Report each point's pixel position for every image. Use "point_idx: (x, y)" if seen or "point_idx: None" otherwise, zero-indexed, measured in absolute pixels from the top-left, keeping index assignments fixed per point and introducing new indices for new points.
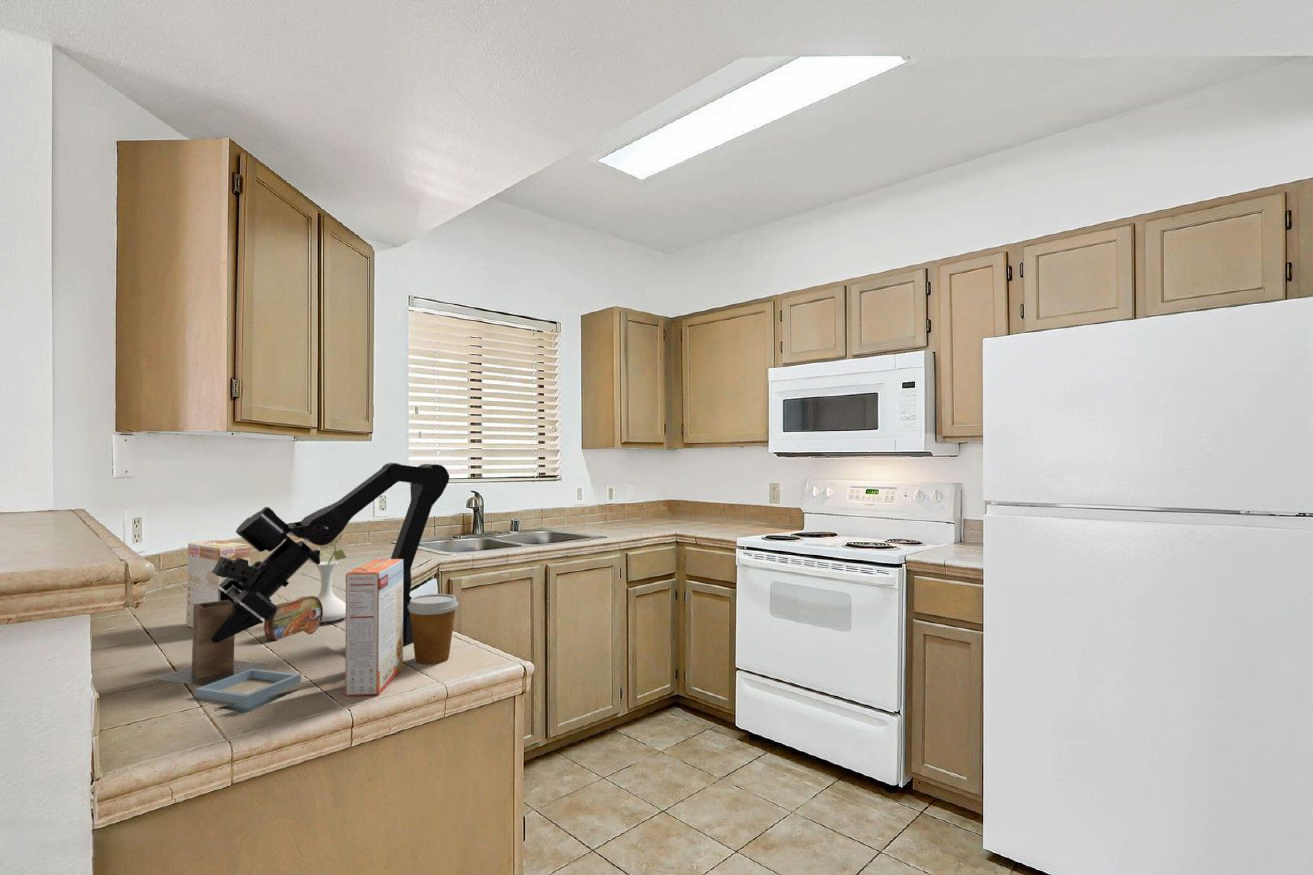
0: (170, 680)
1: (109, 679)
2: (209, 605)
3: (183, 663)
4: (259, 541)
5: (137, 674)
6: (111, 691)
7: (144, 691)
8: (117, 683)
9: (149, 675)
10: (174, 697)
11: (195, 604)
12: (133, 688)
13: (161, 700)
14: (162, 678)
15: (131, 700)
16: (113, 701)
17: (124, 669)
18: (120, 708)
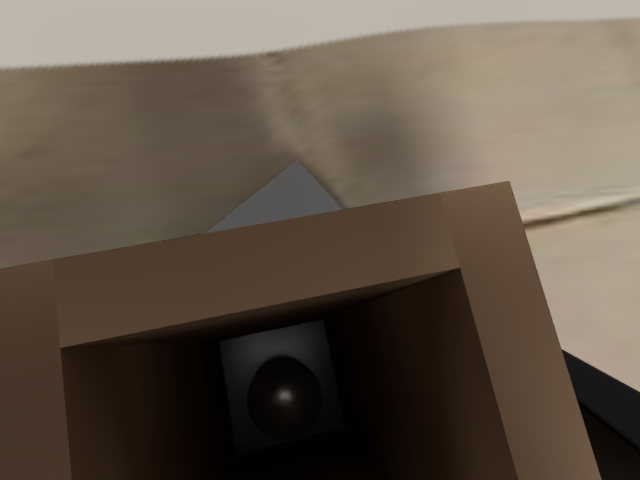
0: (233, 219)
1: (466, 39)
2: (481, 412)
3: (574, 255)
4: None
5: (488, 113)
6: (307, 52)
7: (240, 146)
8: (401, 63)
9: (454, 150)
10: (80, 249)
11: (474, 208)
12: (304, 111)
13: (71, 207)
14: (286, 189)
15: (146, 114)
16: (173, 64)
17: (575, 72)
18: (65, 88)
